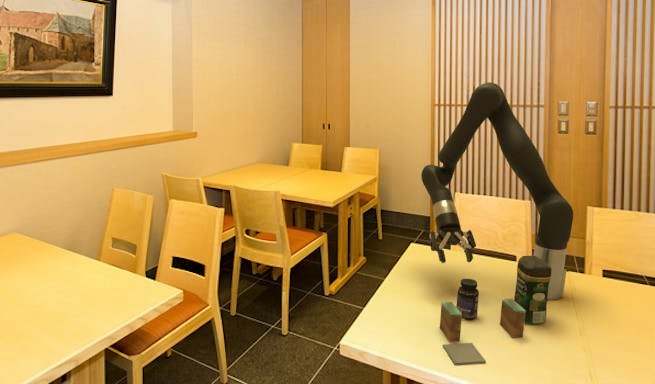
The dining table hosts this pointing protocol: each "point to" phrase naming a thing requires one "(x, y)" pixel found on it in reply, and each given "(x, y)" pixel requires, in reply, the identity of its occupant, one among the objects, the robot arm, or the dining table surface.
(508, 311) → the walnut channel
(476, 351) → the slate pad
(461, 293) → the pill bottle
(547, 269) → the coffee jar
